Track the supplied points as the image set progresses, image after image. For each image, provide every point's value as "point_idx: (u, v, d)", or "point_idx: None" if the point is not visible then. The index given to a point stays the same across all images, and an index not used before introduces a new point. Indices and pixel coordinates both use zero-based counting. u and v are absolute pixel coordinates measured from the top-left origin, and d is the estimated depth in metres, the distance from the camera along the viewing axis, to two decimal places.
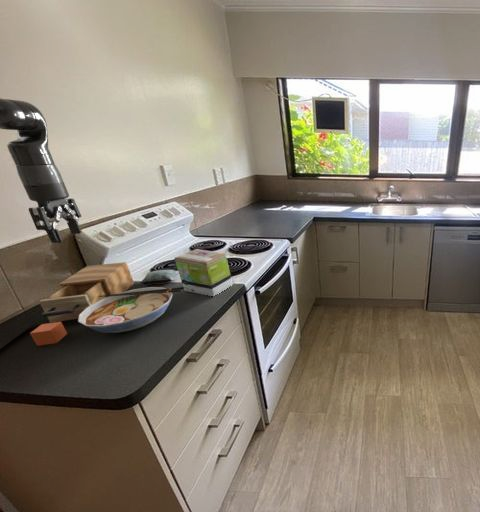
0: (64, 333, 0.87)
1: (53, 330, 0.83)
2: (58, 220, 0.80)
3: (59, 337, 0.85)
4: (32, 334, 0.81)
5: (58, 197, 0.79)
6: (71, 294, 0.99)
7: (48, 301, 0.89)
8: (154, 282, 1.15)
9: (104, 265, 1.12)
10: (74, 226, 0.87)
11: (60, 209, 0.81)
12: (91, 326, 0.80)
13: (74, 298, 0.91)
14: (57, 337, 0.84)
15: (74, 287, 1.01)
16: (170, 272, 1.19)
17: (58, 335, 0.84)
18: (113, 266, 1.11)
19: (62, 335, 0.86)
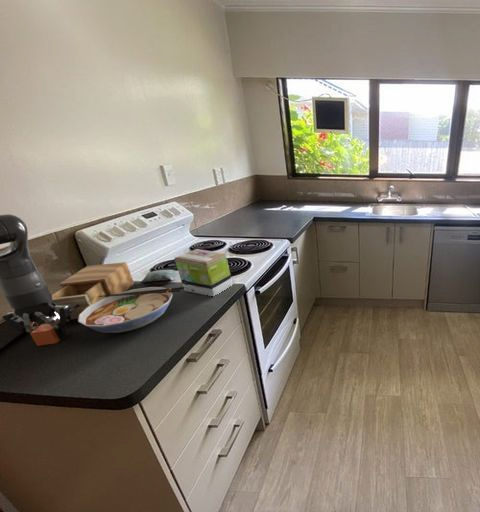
0: None
1: (53, 330, 0.83)
2: (28, 325, 0.80)
3: None
4: (32, 334, 0.81)
5: (12, 308, 0.77)
6: (71, 294, 0.99)
7: None
8: (154, 282, 1.15)
9: (104, 265, 1.12)
10: None
11: (26, 316, 0.79)
12: (91, 326, 0.80)
13: (74, 298, 0.91)
14: (57, 337, 0.84)
15: (74, 287, 1.01)
16: (170, 272, 1.19)
17: None
18: (113, 266, 1.11)
19: None
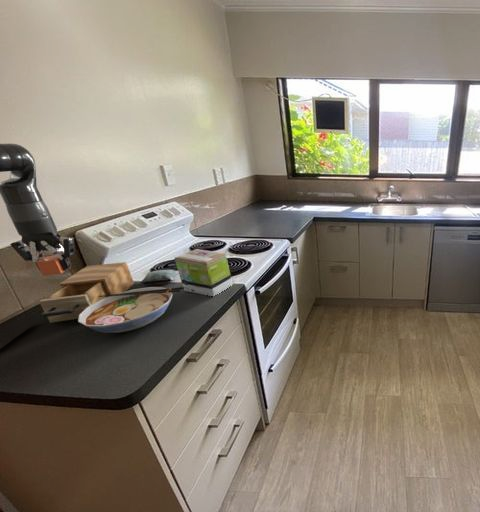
0: None
1: (58, 260, 0.87)
2: (34, 254, 0.85)
3: None
4: (38, 263, 0.86)
5: (20, 234, 0.81)
6: (71, 294, 0.99)
7: (48, 301, 0.89)
8: (154, 282, 1.15)
9: (104, 265, 1.12)
10: None
11: (32, 244, 0.84)
12: (91, 326, 0.80)
13: (74, 298, 0.91)
14: (61, 268, 0.89)
15: (74, 287, 1.01)
16: (170, 272, 1.19)
17: None
18: (113, 266, 1.11)
19: None
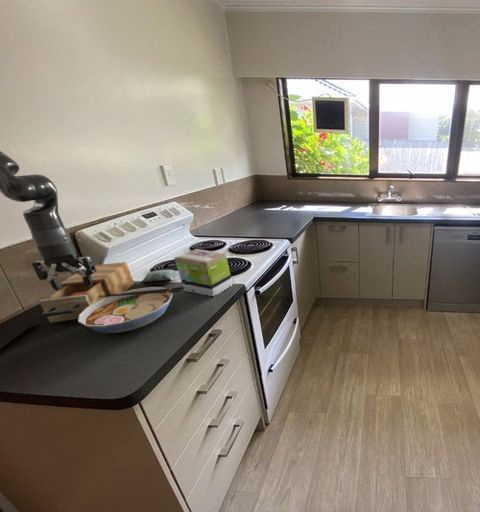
0: None
1: None
2: (51, 274, 0.91)
3: None
4: None
5: (43, 257, 0.88)
6: (71, 294, 0.99)
7: (48, 301, 0.89)
8: (154, 282, 1.15)
9: (104, 265, 1.12)
10: None
11: (54, 266, 0.90)
12: (91, 326, 0.80)
13: (74, 298, 0.91)
14: None
15: (74, 287, 1.01)
16: (170, 272, 1.19)
17: None
18: (113, 266, 1.11)
19: None
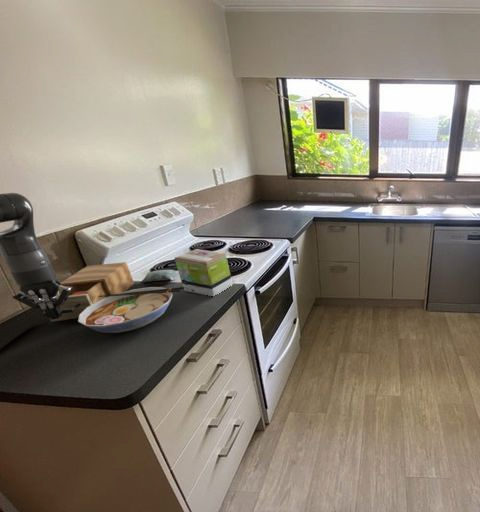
0: None
1: None
2: (39, 302, 0.83)
3: None
4: None
5: (18, 284, 0.79)
6: (72, 293, 1.00)
7: None
8: (154, 282, 1.15)
9: (104, 265, 1.12)
10: None
11: (31, 293, 0.82)
12: (91, 326, 0.80)
13: (75, 297, 0.92)
14: None
15: (75, 286, 1.01)
16: (170, 272, 1.19)
17: None
18: (113, 266, 1.11)
19: None
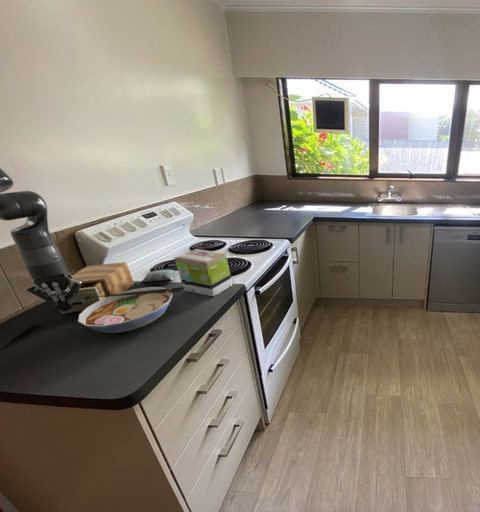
0: None
1: None
2: (51, 295, 0.88)
3: None
4: None
5: (32, 277, 0.83)
6: (81, 287, 1.04)
7: None
8: (154, 282, 1.15)
9: (104, 265, 1.12)
10: None
11: (45, 286, 0.86)
12: (91, 326, 0.80)
13: (85, 290, 0.96)
14: None
15: None
16: (170, 272, 1.19)
17: None
18: (113, 266, 1.11)
19: None
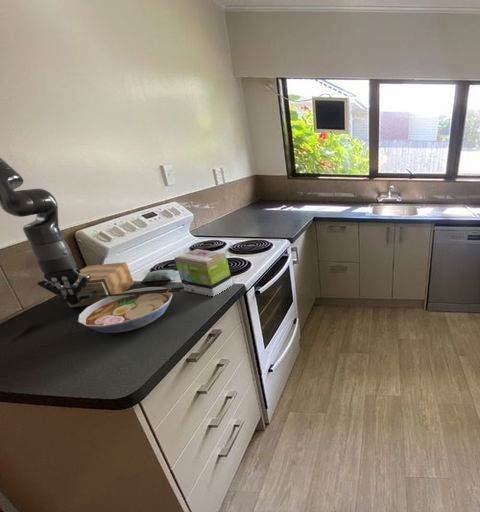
0: None
1: None
2: (61, 288, 0.91)
3: None
4: None
5: (43, 272, 0.87)
6: None
7: None
8: (154, 282, 1.15)
9: (104, 265, 1.12)
10: None
11: (54, 280, 0.90)
12: (91, 326, 0.80)
13: (92, 285, 0.99)
14: None
15: None
16: (170, 272, 1.19)
17: None
18: (113, 266, 1.11)
19: None
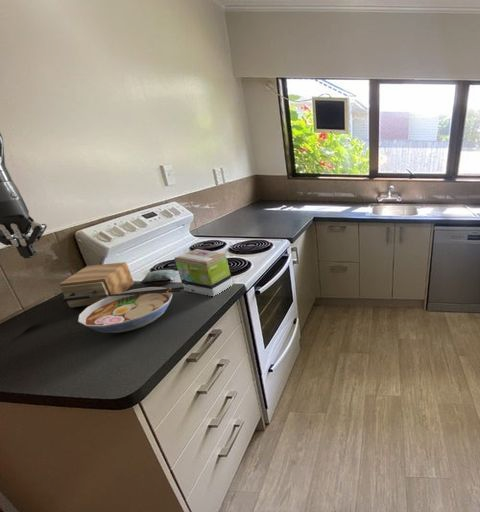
0: None
1: None
2: (10, 238, 0.80)
3: None
4: None
5: None
6: None
7: (68, 287, 0.98)
8: (154, 282, 1.15)
9: (104, 265, 1.12)
10: None
11: (2, 227, 0.79)
12: (91, 326, 0.80)
13: (92, 285, 0.99)
14: None
15: None
16: (170, 272, 1.19)
17: None
18: (113, 266, 1.11)
19: None
